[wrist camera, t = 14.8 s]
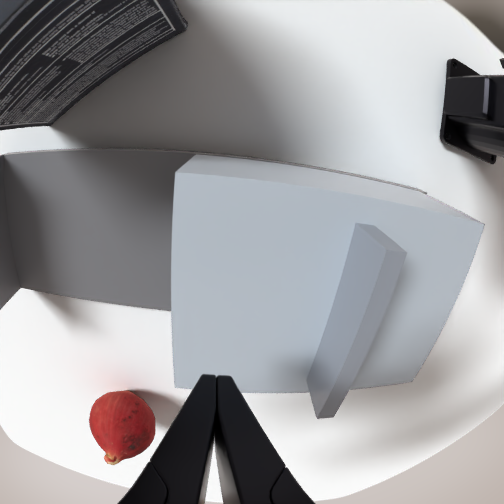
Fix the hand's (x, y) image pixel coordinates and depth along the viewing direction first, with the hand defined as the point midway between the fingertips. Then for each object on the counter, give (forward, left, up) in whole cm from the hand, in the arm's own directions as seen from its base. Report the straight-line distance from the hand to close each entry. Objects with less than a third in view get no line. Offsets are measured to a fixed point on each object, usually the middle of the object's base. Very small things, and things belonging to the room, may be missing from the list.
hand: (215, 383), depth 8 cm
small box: (+9, -12, -11) cm, 19 cm away
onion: (+7, +16, -11) cm, 21 cm away
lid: (-5, 0, -10) cm, 11 cm away
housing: (+1, 0, -11) cm, 11 cm away
